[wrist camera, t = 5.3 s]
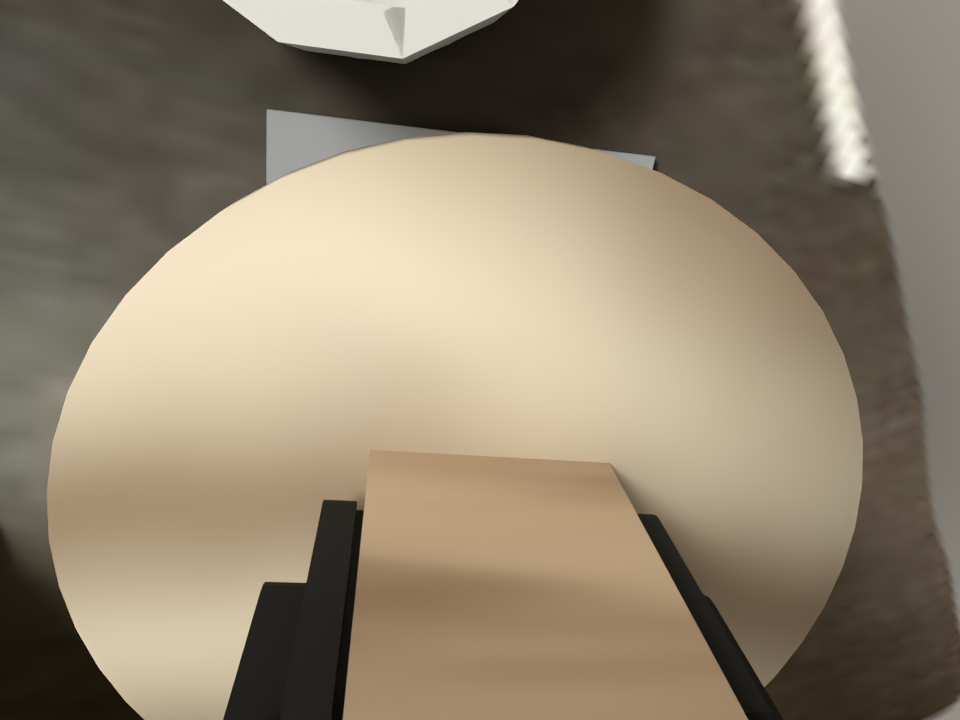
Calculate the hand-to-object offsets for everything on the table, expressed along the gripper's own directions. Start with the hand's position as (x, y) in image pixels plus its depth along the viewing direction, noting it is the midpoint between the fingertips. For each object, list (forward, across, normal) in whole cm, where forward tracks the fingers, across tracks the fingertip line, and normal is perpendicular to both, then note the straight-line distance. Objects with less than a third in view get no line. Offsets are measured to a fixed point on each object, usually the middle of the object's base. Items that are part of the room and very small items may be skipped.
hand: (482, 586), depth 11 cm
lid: (+2, 0, 0) cm, 2 cm away
